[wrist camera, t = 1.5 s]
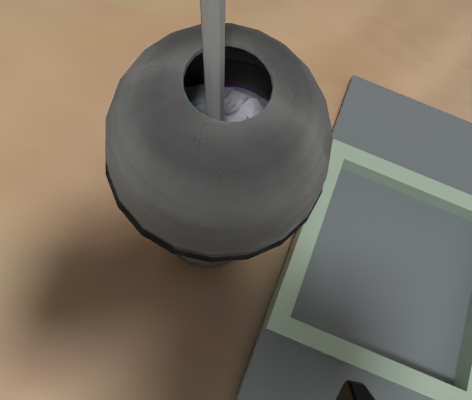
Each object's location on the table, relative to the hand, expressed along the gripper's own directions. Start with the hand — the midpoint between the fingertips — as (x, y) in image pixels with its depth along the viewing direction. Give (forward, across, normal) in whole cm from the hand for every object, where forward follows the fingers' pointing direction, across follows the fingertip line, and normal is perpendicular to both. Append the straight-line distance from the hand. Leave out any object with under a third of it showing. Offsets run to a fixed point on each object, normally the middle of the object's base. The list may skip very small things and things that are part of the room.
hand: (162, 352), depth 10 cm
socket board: (+14, -12, +4) cm, 19 cm away
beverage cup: (+14, 0, +5) cm, 15 cm away
